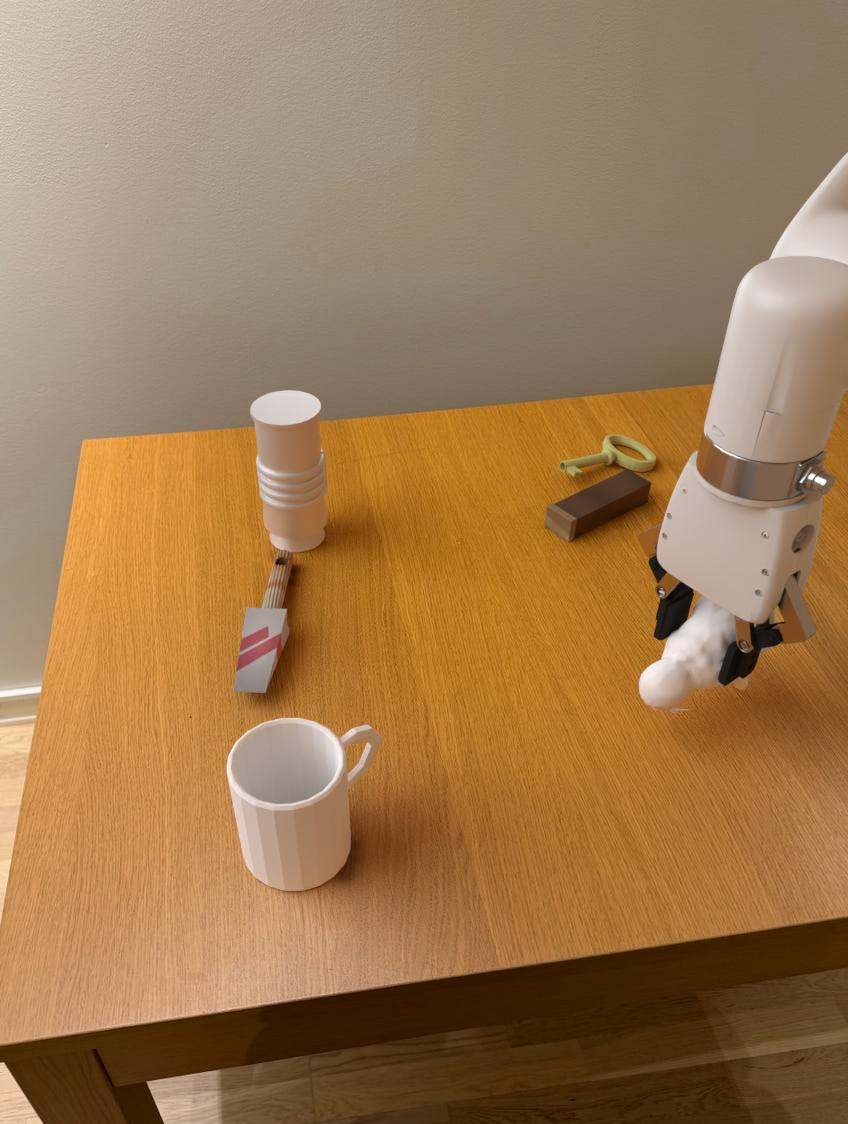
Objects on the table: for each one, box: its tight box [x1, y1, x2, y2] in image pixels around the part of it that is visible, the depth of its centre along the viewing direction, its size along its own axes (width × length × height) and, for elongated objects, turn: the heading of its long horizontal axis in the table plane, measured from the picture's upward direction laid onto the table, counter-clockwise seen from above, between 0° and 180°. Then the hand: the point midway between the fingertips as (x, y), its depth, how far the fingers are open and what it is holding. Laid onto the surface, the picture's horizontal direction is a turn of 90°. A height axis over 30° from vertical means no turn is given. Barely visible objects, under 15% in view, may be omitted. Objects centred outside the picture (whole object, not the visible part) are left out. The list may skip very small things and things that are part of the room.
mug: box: [225, 717, 384, 892], centre depth 66 cm, size 8×12×10 cm
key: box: [558, 433, 657, 478], centre depth 105 cm, size 7×12×2 cm, turn 135°
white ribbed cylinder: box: [249, 389, 329, 553], centre depth 92 cm, size 7×7×15 cm
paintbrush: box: [232, 550, 295, 694], centre depth 86 cm, size 4×3×20 cm
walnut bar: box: [544, 468, 652, 543], centre depth 98 cm, size 12×4×3 cm, turn 126°
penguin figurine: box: [638, 594, 777, 715], centre depth 73 cm, size 6×8×12 cm
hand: (700, 652), depth 73 cm, fingers closed on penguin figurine, 5 cm apart
